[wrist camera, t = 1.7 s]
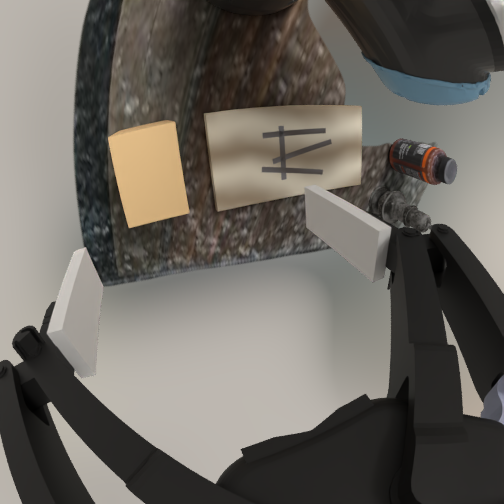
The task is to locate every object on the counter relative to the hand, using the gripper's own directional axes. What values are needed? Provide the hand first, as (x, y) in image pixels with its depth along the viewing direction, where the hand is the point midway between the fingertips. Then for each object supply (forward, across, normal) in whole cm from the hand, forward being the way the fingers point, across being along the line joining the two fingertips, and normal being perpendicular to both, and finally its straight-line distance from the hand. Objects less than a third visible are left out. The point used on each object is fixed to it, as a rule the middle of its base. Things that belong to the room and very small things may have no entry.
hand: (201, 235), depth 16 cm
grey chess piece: (+20, +32, -12) cm, 39 cm away
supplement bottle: (+20, +36, -4) cm, 41 cm away
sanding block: (+19, -2, +2) cm, 19 cm away
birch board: (+19, +16, -1) cm, 25 cm away
